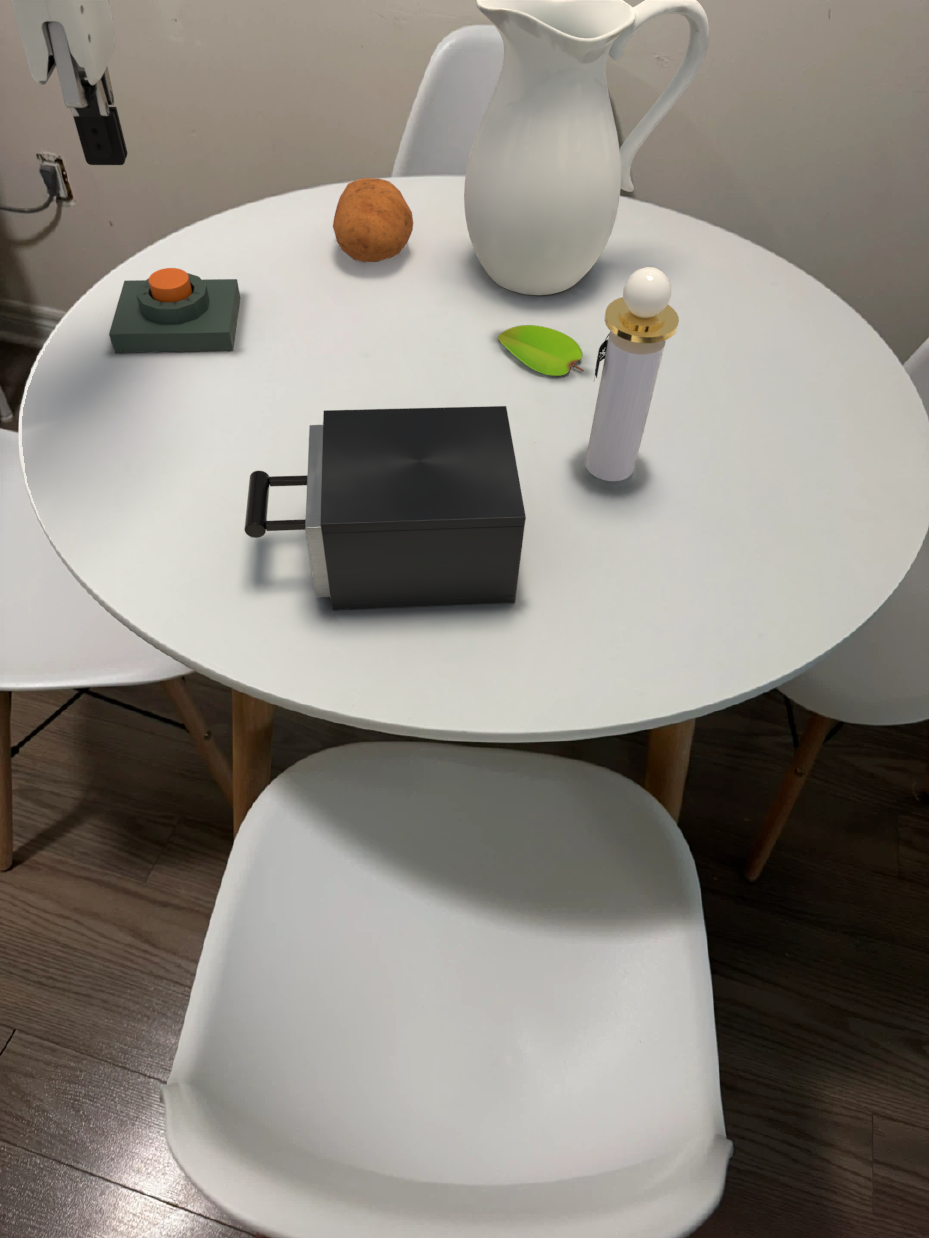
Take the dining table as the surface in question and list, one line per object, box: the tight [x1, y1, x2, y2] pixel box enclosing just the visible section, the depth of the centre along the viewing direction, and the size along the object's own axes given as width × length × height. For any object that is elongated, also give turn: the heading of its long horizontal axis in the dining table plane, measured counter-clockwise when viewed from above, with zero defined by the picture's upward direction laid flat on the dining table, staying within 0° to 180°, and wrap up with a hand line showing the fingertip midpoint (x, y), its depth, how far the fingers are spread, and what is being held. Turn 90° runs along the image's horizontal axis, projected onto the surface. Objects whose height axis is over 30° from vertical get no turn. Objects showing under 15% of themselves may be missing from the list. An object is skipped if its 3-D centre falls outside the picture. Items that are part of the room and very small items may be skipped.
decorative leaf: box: [497, 324, 585, 377], centre depth 92 cm, size 8×9×1 cm
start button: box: [148, 267, 192, 302], centre depth 90 cm, size 4×4×2 cm
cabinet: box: [321, 405, 527, 611], centre depth 71 cm, size 15×13×10 cm
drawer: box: [243, 424, 330, 598], centre depth 71 cm, size 19×12×8 cm, turn 95°
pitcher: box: [463, 0, 710, 296], centre depth 92 cm, size 24×17×28 cm
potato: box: [332, 177, 414, 263], centre depth 101 cm, size 9×11×8 cm
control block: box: [108, 272, 241, 354], centre depth 92 cm, size 12×10×4 cm
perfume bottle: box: [584, 266, 680, 482], centre depth 74 cm, size 6×6×20 cm
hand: (107, 160), depth 75 cm, fingers closed
